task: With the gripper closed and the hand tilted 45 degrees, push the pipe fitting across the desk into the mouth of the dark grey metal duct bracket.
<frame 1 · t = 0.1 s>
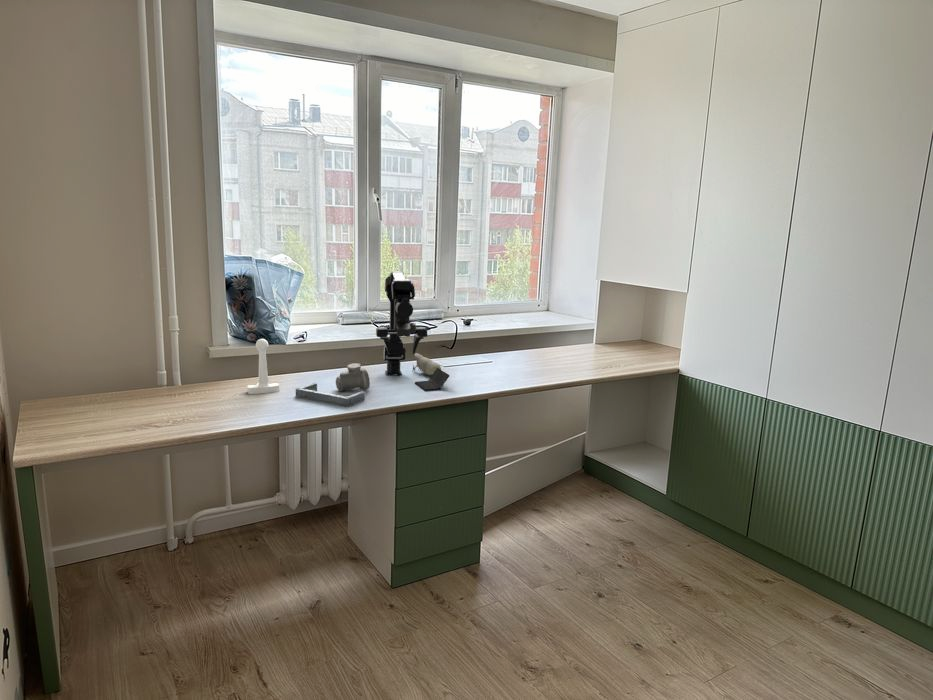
hand: (401, 354, 235), 15 cm above the table, fingers open, 9 cm apart
duct bracket: (335, 396, 230), on the table
pipe fitting: (352, 390, 239), on the table
decorative bird: (427, 375, 266), on the table
joystick: (263, 390, 234), on the table
handheld gaming console: (431, 387, 248), on the table
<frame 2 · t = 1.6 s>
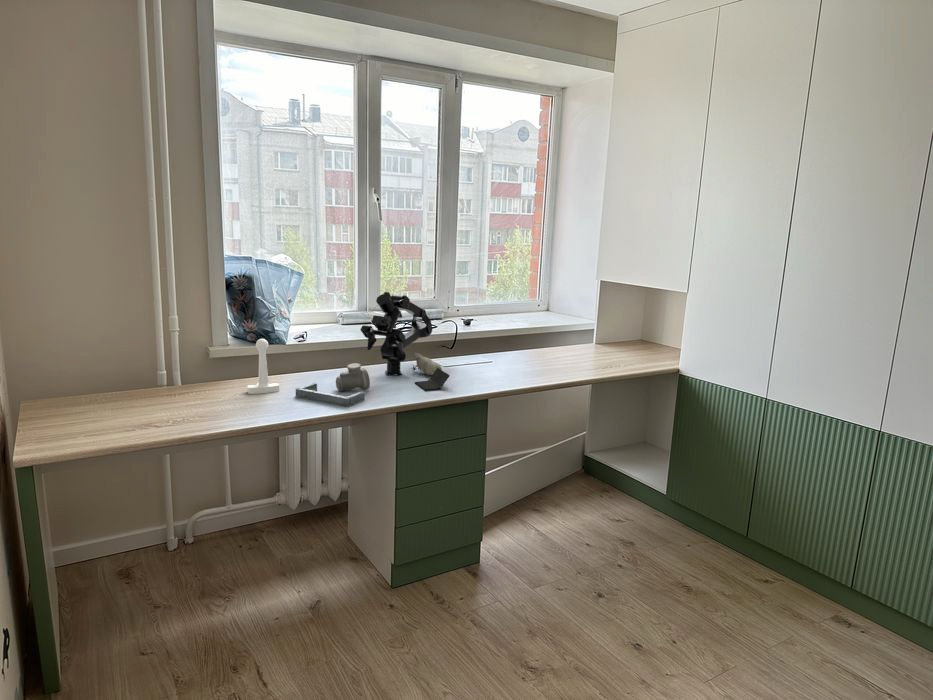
hand: (374, 350, 250), 13 cm above the table, fingers open, 6 cm apart
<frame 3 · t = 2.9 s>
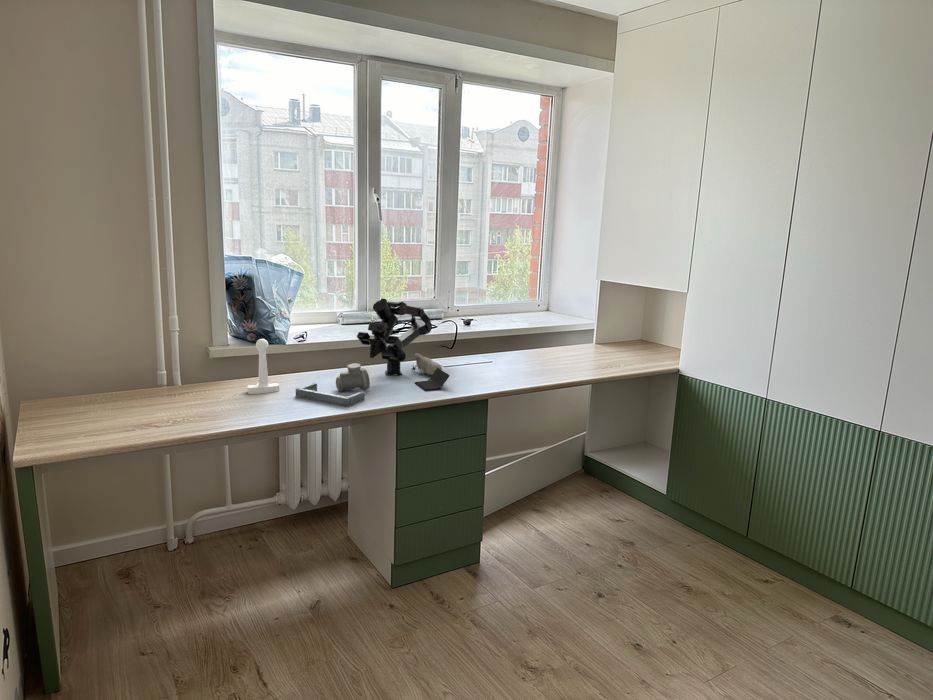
hand: (370, 357, 248), 10 cm above the table, fingers closed
nothing on the table moved.
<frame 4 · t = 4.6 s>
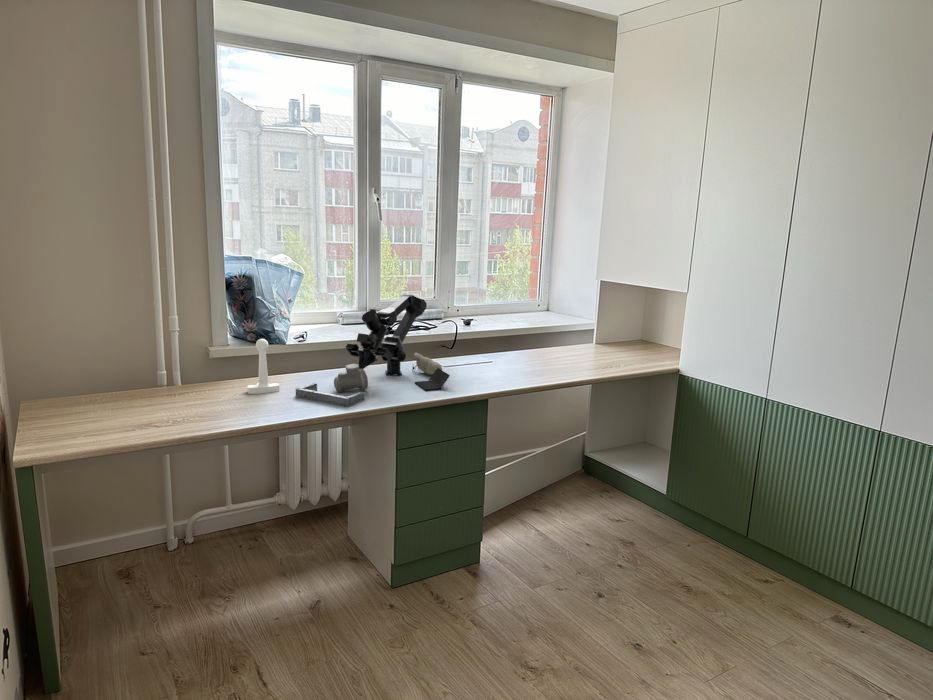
hand: (359, 369, 242), 7 cm above the table, fingers closed
pipe fitting: (350, 391, 238), on the table, touching gripper
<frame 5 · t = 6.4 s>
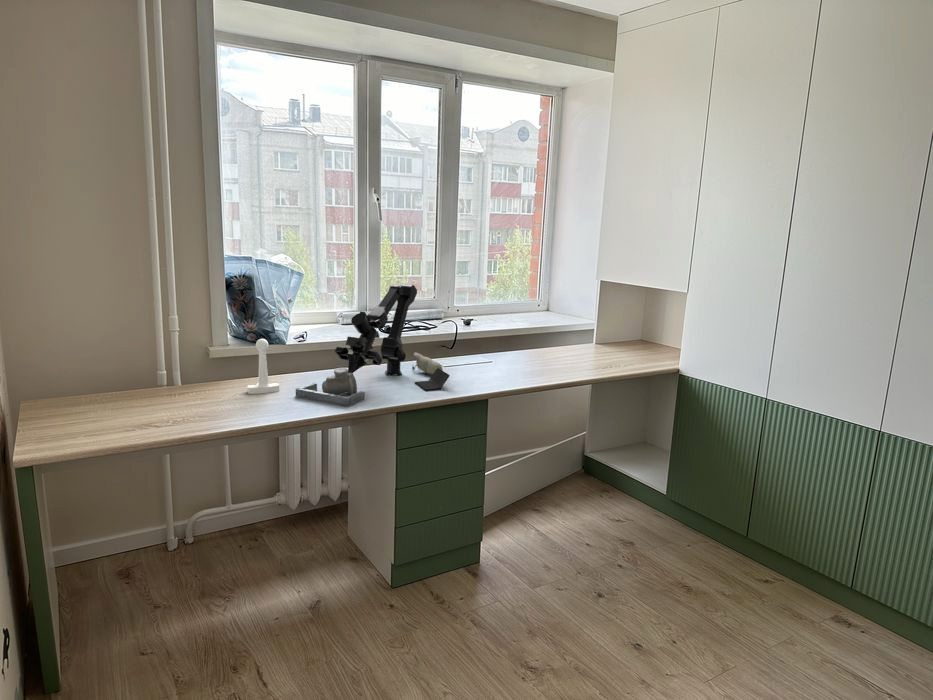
hand: (349, 373, 236), 7 cm above the table, fingers closed
pipe fitting: (339, 395, 232), on the table
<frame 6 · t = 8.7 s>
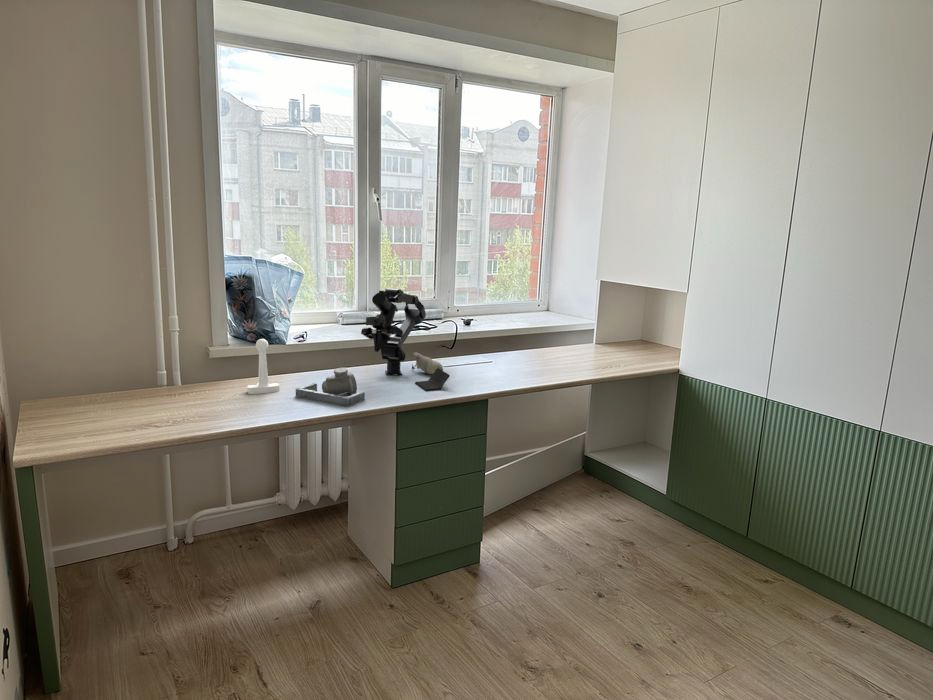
hand: (376, 351, 248), 13 cm above the table, fingers closed
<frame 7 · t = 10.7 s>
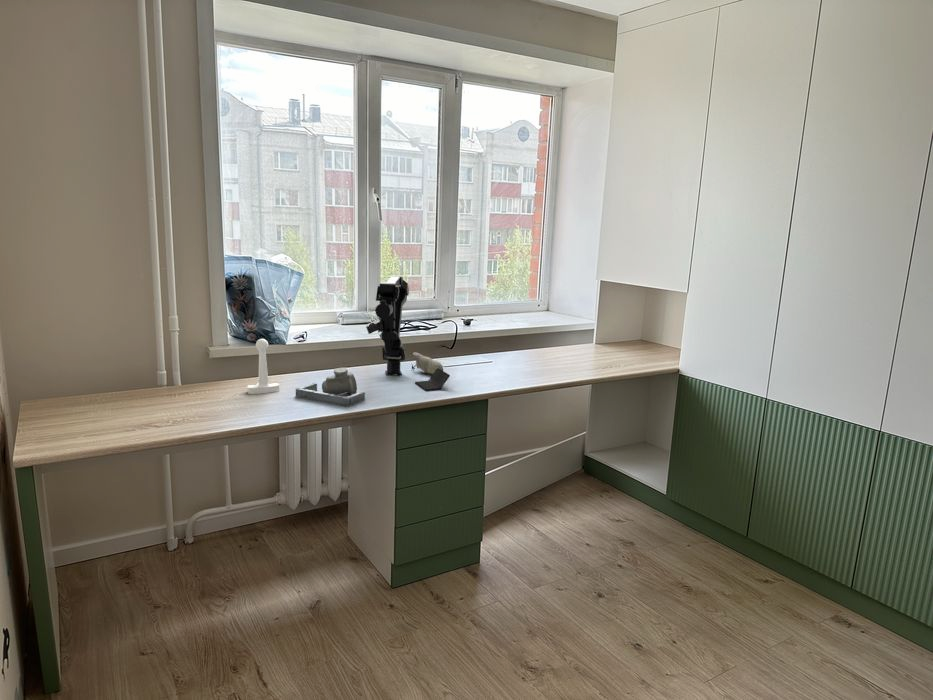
hand: (387, 353, 248), 12 cm above the table, fingers closed
at the end: pipe fitting inside the target area on the duct bracket (1.8 cm from its centre), point 0.0 cm above the duct bracket's base; pipe fitting moved 8.1 cm from its start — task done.
